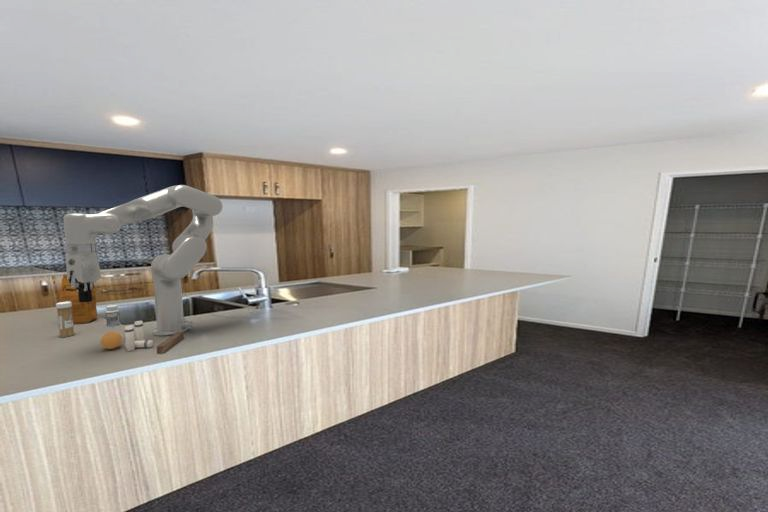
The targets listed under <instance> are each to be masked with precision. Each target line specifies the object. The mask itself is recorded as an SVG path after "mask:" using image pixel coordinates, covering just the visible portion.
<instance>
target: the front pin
mask: <svg viewBox="0 0 768 512" xmlns="http://www.w3.org/2000/svg"><path fill="white" fill-rule="evenodd" d="M134 343H135V349H137V348H145V349H147V348H152V347H153V345H154V341H153V339H151V340H150V339H146V340H145V339H144V341H136V340H134ZM124 347H125V348H126V341H125V342H124Z"/></svg>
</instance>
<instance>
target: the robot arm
mask: <svg viewBox="0 0 768 512" xmlns="http://www.w3.org/2000/svg"><path fill="white" fill-rule="evenodd" d="M180 207H181V208H182V207H184V208H186V209H190V210H191V212H192V220H191V222H190V223H189V225H188V226H187V227H186V228H185V229H184V230H183V231H182V232H181V233H180V234H179V235H178V236H177V237H176V238H175V239H174V240H173V242H172V246H171V247H172V251H173V252H172V253H171V254H168V253H163V254H159V255H157V256H155V258H154V259H152V262H151V264H150V265H151V266H150V271H151V278H152V282H153V288H154V292H153V293H154V304H155V305H154V306H155V317H156V328H154V329H153V330H152V334H153V335H154V336H158V337H159V336H161V337H162V336H173V335H174V334H176V333H177V332H183V333H184V332H186V331H188V330H189V327H191V328H193V327H194V326H195V323H194V320H187V318H186V317H184V306H183V305H184V304H183V303H184V302H183V287H182V286H183V285H182V280H181V279H183V278H185V277H186V276H187V275H188V274H189V273H190V272H191V270H193V269H194V268H195V266H196V265H197V264H198V263H199V262H200V261H201V259H202V258H203V257H204V255H205V254H206V251H207V248H208V247H207V242H206V239H207V238H208V237H209V235H210V234H211V233H212V231H213V228H214V217H215V216H217V215H219V214H220V213H221V212H222V210H223V203H222V201H221V199H220V198H219V197H217V196H215V195H214V194H211V193H208V192H205V191H202V190H201V189H198V188H194V187H191V186H190V185H186V184H179V185H178V184H176V185H172V186H169V187H166V188H163V189H160V190H157V191H155V192H151V193H149V194H146V195H144V196H141V197H138V198H135V199H133V200H130V201H127V202H126V203H123V204H120V205H117V206H114V207H112V208H109V209H106V210H103V211H101V212H98V213H93V214H92V213H91V214H89V213H81V212H80V213H77V212H76V213H67V214H64V215H63V227H64V237H65V247H66V248H65V249H66V263H65V264H66V266H65V267H66V274H67V280H68V282H69V283H71V287H72V288H76V289H77V291H78V294H79V302H90V301H92V291H91V290H92V285H93V284H96V283H97V281H99V280H100V279H101V277H102V276H101V275H102V274H101V267H100V261H99V258H98V254H97V252H96V246H95V245H96V243H95V237H94V236H95V234H102V235H113V234H115V233H117V232H119V231H120V230H121V228H122V227H124V226H126V225H130V224H133V223H136V222H140V221H147V220H151V219H154V218H156V217H158V216H160V215H163V214H166V213H168V212H171V211H173V210H175V209H177V208H180Z"/></svg>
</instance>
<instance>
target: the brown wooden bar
mask: <svg viewBox="0 0 768 512" xmlns="http://www.w3.org/2000/svg"><path fill="white" fill-rule="evenodd" d="M182 340H184V332H177V333H176V334H173V335H170V337H168V338H167V339H165V340H163V341H162V342H160V343H159V344H158V345H156V353H157V354H164V353H166V352H167V351H169V350H170V349H171V348H172V347H174V346H175V345H176V344H178V343H179V342H181V341H182Z"/></svg>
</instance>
